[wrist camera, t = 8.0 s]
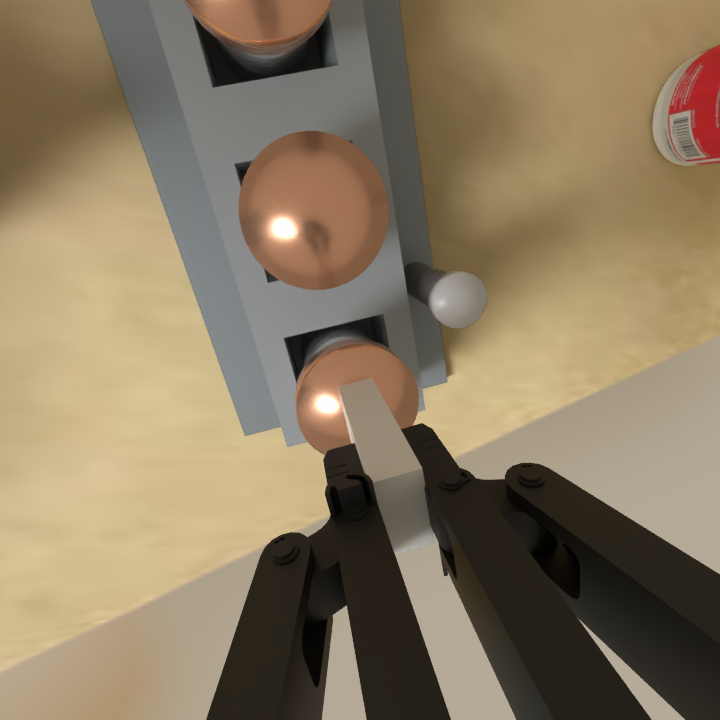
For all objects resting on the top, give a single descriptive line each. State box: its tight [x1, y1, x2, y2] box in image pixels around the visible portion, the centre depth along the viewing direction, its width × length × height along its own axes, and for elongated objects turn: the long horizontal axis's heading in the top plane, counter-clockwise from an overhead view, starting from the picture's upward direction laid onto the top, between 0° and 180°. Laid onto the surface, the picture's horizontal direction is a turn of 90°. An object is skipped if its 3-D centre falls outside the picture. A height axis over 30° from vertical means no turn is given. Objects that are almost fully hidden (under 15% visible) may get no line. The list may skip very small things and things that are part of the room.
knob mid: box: [238, 131, 389, 290], centre depth 19 cm, size 5×5×8 cm
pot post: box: [404, 262, 487, 329], centre depth 22 cm, size 3×3×7 cm
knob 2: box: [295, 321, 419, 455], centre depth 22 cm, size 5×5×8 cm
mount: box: [91, 0, 447, 447], centre depth 21 cm, size 14×25×5 cm, turn 11°
